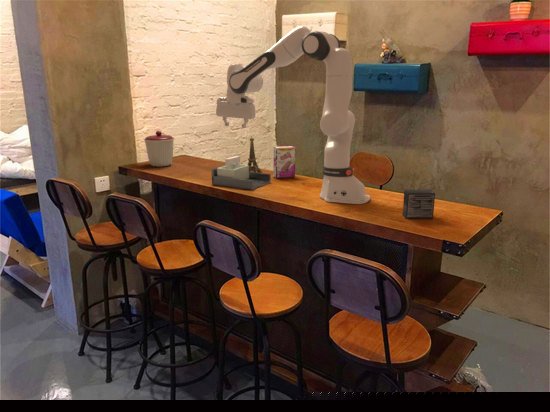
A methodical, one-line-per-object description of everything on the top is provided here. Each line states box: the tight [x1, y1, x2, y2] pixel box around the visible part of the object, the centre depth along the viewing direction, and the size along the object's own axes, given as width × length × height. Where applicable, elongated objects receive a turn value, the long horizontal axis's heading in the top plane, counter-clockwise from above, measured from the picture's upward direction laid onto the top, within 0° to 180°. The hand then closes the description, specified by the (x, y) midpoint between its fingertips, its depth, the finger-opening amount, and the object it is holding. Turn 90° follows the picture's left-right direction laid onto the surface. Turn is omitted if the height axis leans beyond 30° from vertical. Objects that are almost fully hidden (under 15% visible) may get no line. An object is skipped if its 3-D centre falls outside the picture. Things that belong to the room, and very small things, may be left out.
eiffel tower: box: [247, 137, 263, 173], centre depth 244 cm, size 11×11×25 cm
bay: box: [211, 164, 272, 191], centre depth 230 cm, size 24×18×8 cm
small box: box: [402, 188, 436, 220], centre depth 175 cm, size 11×6×10 cm, turn 88°
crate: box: [216, 155, 249, 180], centre depth 231 cm, size 10×14×12 cm
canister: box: [143, 130, 175, 168], centre depth 275 cm, size 18×18×21 cm
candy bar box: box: [272, 145, 297, 179], centre depth 243 cm, size 11×5×16 cm, turn 110°
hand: (235, 127), depth 224 cm, fingers open, 8 cm apart
